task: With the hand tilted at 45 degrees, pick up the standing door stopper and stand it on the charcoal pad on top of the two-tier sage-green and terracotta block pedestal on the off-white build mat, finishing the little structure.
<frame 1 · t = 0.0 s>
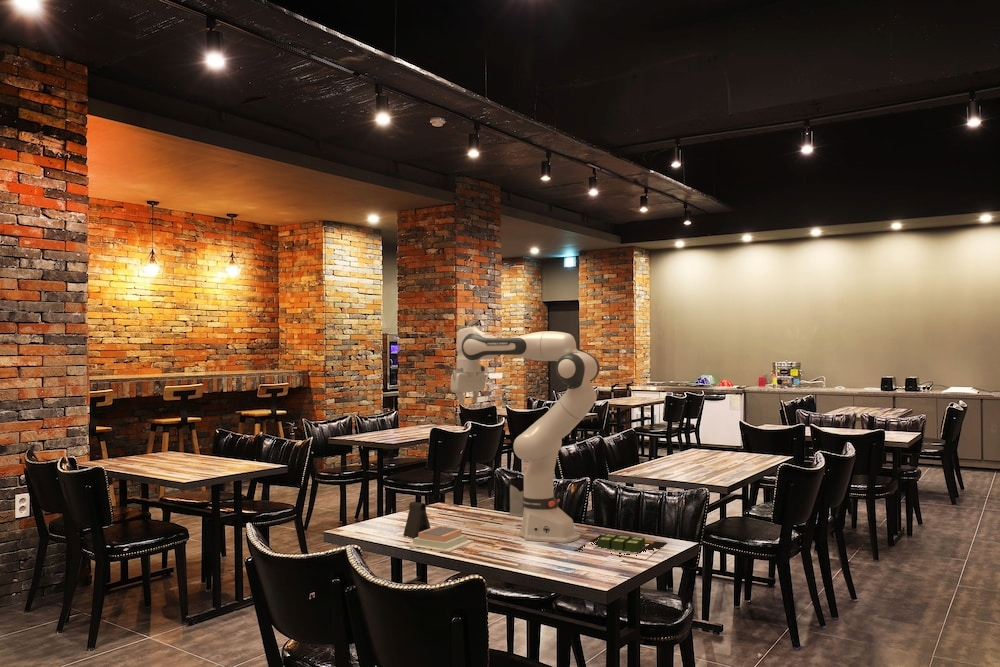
hand: (468, 403, 290), 48 cm above the table, tool pointing down, fingers open, 8 cm apart
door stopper: (417, 535, 275), on the table
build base: (440, 543, 262), on the table
sushi: (621, 549, 255), on the table
glass holder: (524, 514, 311), on the table
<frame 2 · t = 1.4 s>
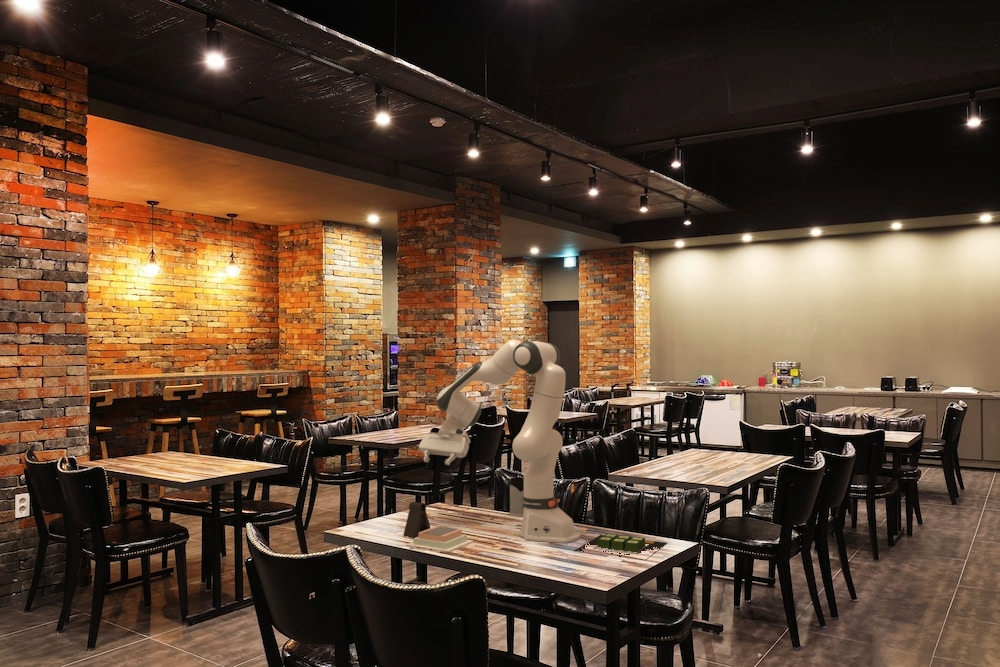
hand: (436, 462, 287), 25 cm above the table, tool tilted 45°, fingers open, 8 cm apart
nothing on the table moved.
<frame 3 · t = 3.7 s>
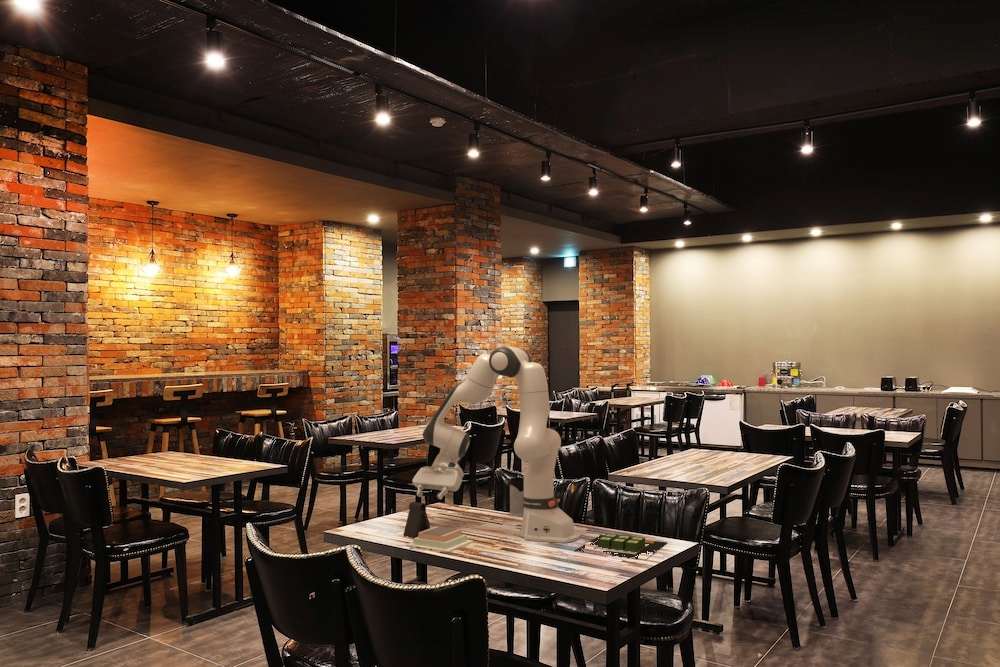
hand: (428, 497, 282), 13 cm above the table, tool tilted 45°, fingers open, 8 cm apart
nothing on the table moved.
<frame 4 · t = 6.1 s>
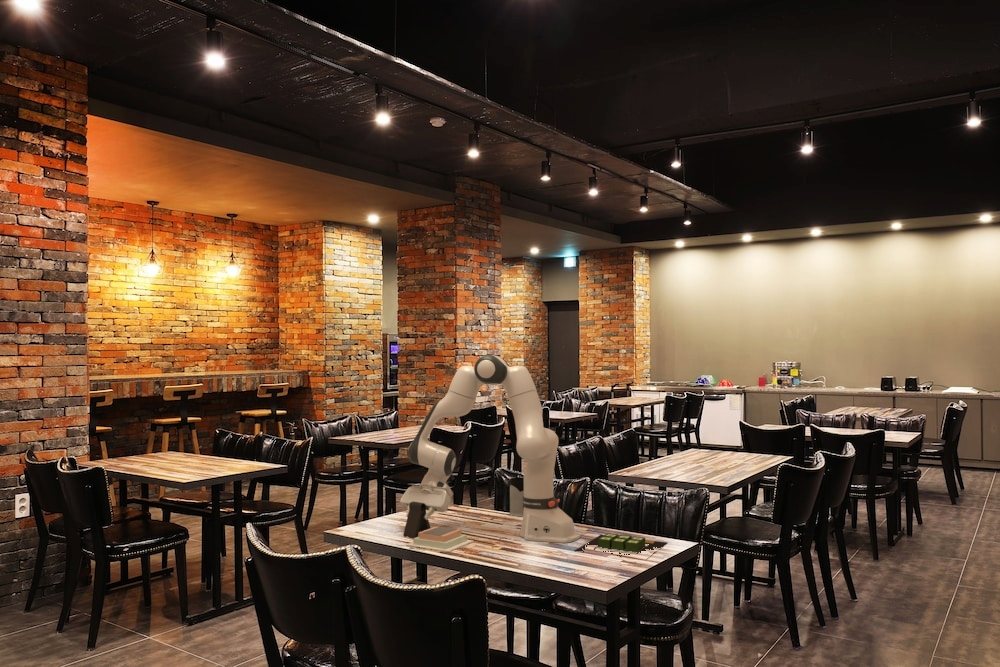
hand: (416, 518, 275), 6 cm above the table, tool tilted 45°, fingers closed on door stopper, 6 cm apart
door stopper: (417, 535, 275), on the table, touching gripper
everything else where it was.
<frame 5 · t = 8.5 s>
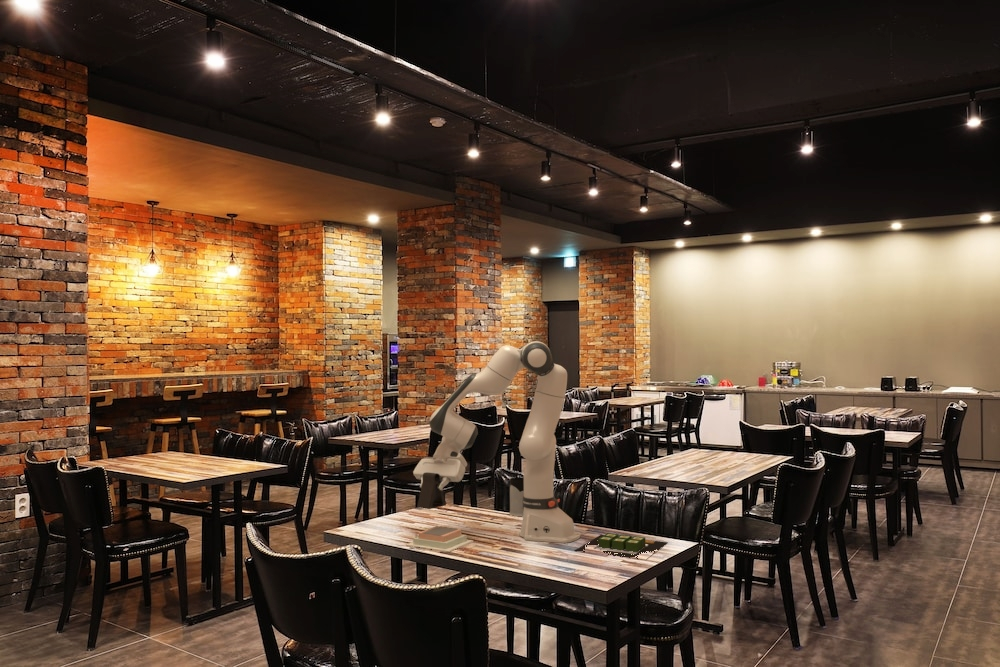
hand: (430, 488, 268), 19 cm above the table, tool tilted 45°, fingers closed on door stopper, 6 cm apart
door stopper: (431, 506, 268), point 12 cm above the table, touching gripper
everything else where it was.
when the fingers open (12 cm above the table, at t = 11.2 s): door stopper drops 1 cm, resting on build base.
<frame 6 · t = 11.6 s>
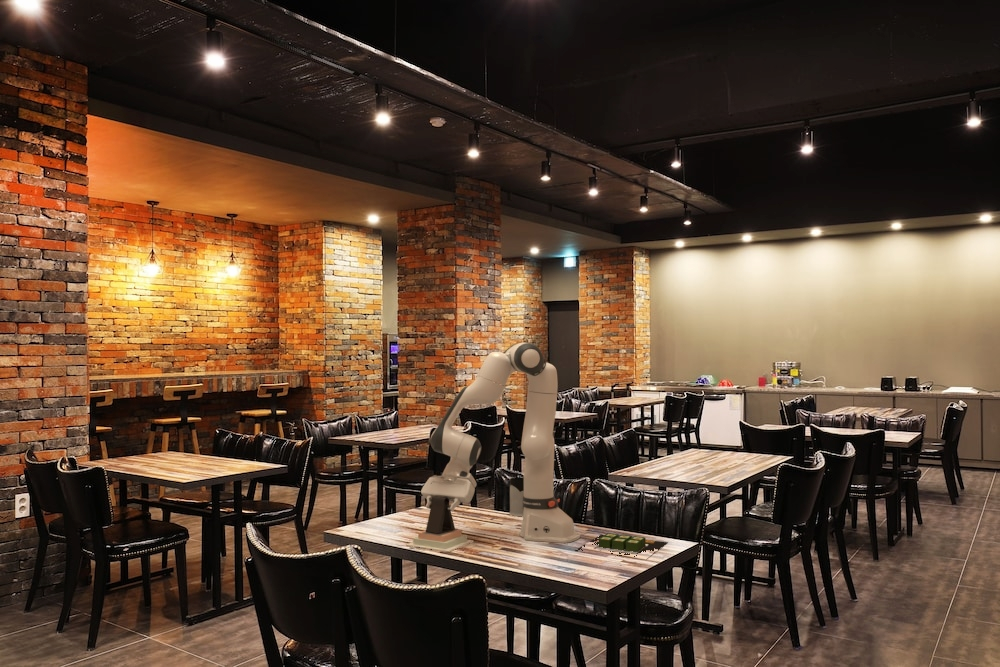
hand: (439, 509, 262), 12 cm above the table, tool tilted 45°, fingers open, 8 cm apart
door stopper: (440, 531, 262), point 4 cm above the table, touching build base
everything else where it was.
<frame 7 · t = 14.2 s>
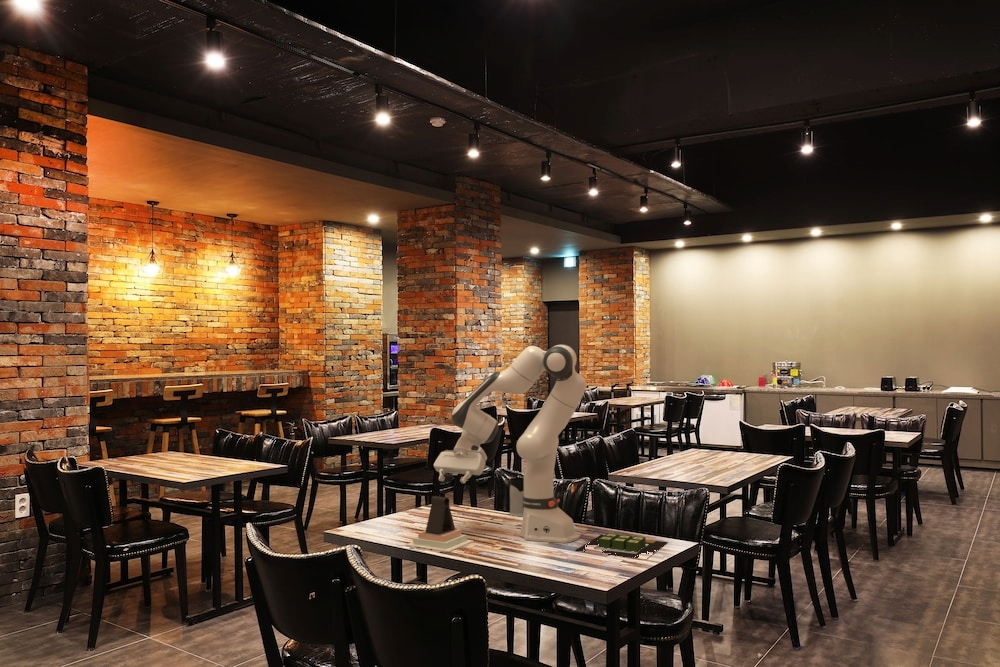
hand: (451, 481, 272), 20 cm above the table, tool tilted 45°, fingers open, 8 cm apart
nothing on the table moved.
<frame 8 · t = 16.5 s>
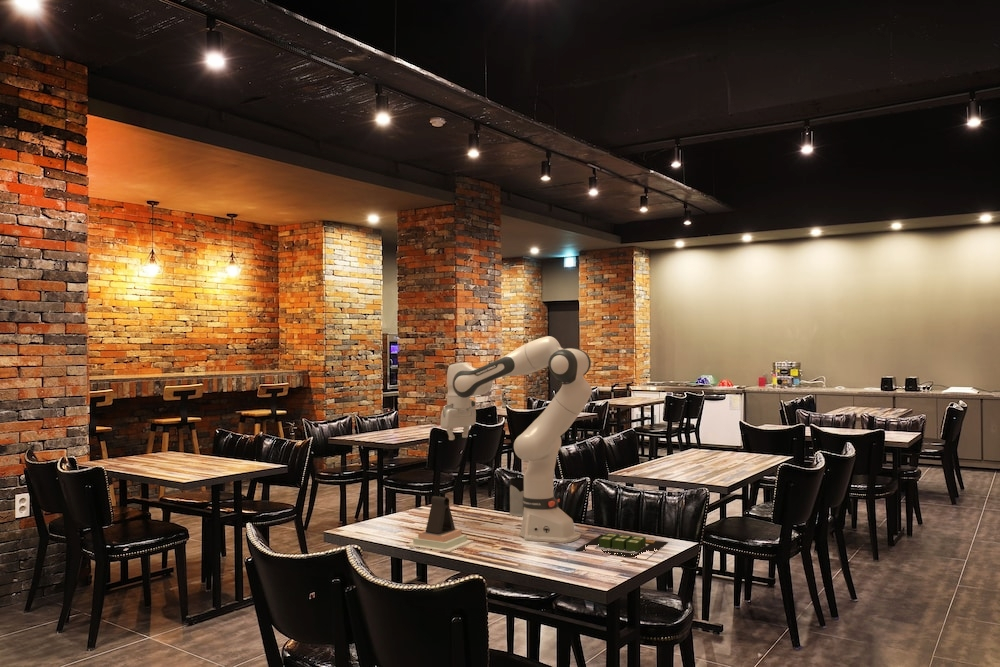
hand: (458, 438, 290), 34 cm above the table, tool pointing down, fingers open, 8 cm apart
nothing on the table moved.
at the end: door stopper 0.1 cm off-centre on the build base, point 4.4 cm above the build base's base; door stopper tilted 0°; the gripper is holding nothing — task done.
